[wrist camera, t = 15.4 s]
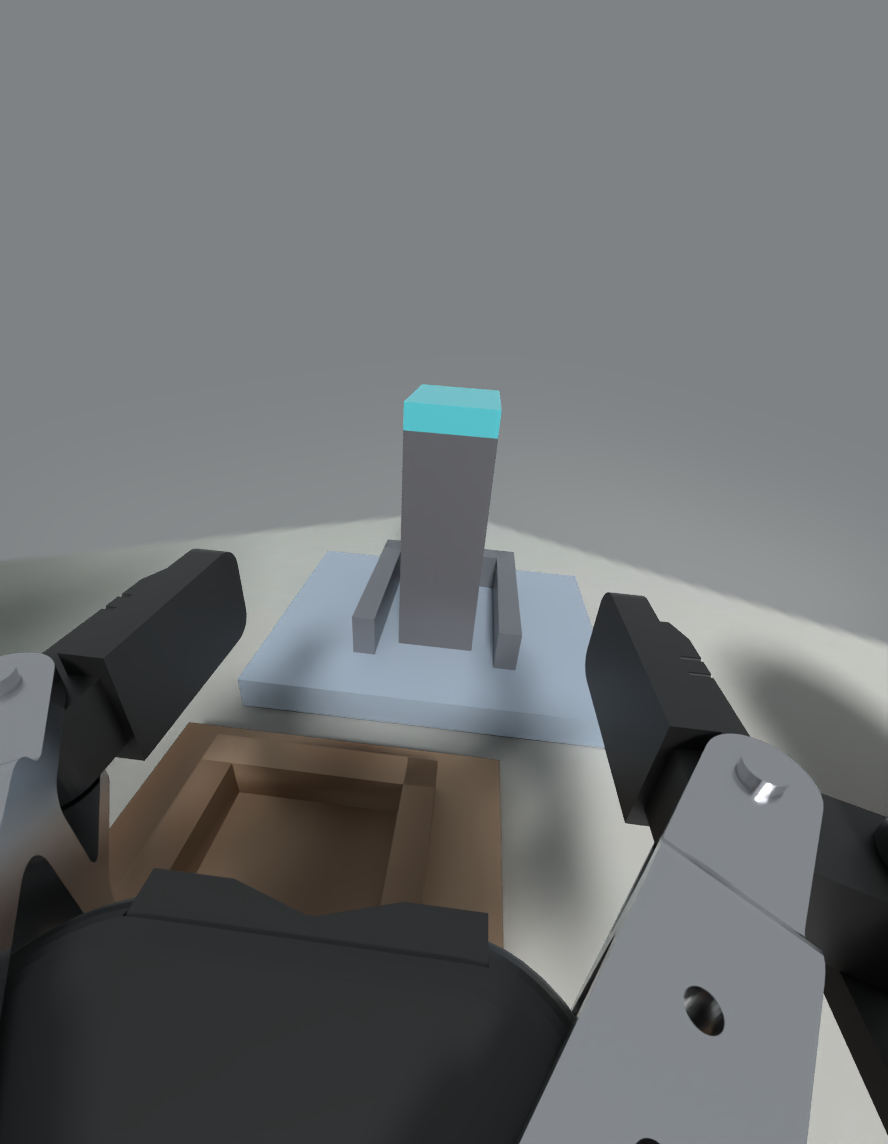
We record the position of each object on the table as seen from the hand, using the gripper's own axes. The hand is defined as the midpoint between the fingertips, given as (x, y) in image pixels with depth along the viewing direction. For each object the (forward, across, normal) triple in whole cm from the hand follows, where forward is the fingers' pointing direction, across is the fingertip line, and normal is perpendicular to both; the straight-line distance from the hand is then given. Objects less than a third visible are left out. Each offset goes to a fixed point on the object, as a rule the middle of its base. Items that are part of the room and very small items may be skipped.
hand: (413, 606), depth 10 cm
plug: (+11, 0, +8) cm, 14 cm away
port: (+11, 0, +10) cm, 15 cm away
